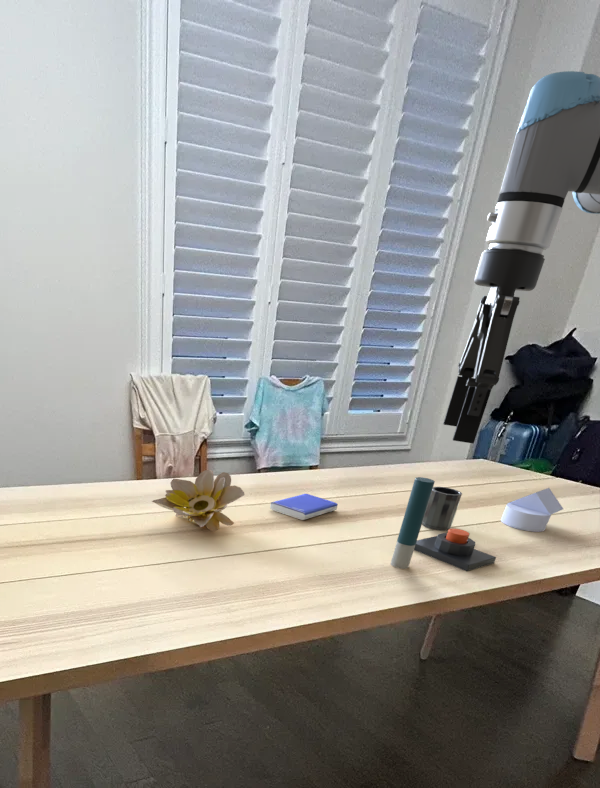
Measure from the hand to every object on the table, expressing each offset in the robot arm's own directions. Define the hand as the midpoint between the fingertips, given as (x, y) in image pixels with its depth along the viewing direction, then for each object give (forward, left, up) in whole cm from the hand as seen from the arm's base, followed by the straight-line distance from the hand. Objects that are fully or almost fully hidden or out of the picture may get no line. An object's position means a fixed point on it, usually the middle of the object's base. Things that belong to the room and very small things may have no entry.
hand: (457, 433), depth 91 cm
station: (+3, -15, -22) cm, 27 cm away
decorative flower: (+35, +19, -22) cm, 45 cm away
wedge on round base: (+8, -52, -22) cm, 57 cm away
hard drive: (+33, -8, -22) cm, 40 cm away
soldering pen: (+4, -1, -22) cm, 22 cm away
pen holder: (+15, -28, -22) cm, 39 cm away
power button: (+3, -15, -19) cm, 25 cm away
